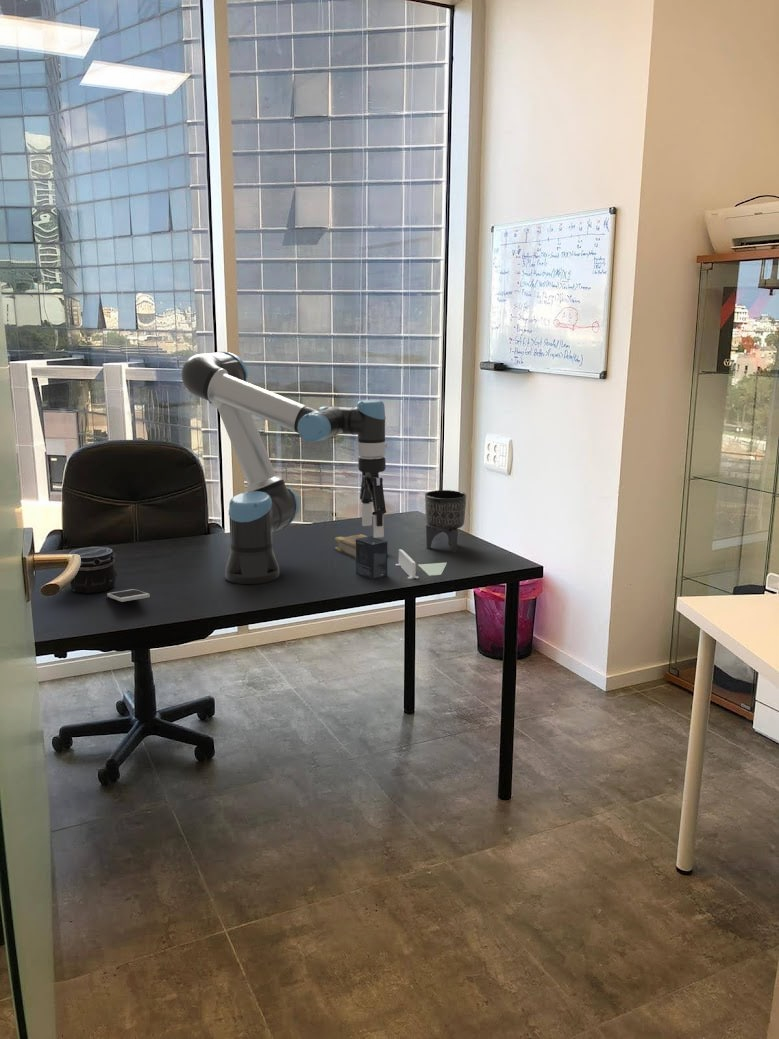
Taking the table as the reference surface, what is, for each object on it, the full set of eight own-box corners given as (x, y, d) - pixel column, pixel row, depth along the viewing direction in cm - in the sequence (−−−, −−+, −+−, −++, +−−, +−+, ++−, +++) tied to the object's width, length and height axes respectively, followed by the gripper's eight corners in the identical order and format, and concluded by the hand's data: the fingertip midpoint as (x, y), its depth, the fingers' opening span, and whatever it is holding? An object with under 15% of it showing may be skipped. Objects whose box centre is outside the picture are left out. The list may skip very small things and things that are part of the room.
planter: (425, 554, 267) (426, 498, 263) (422, 543, 279) (423, 490, 275) (467, 554, 267) (468, 498, 263) (462, 543, 280) (463, 490, 276)
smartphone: (121, 602, 214) (121, 598, 214) (106, 596, 227) (106, 593, 227) (150, 597, 217) (149, 593, 217) (134, 592, 231) (133, 588, 231)
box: (387, 576, 245) (388, 540, 243) (372, 580, 242) (372, 544, 239) (370, 570, 251) (370, 535, 249) (355, 573, 248) (355, 538, 245)
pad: (429, 576, 245) (429, 575, 245) (417, 565, 255) (417, 564, 255) (459, 574, 247) (459, 573, 247) (446, 563, 258) (446, 562, 258)
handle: (408, 580, 242) (408, 563, 241) (395, 565, 255) (395, 549, 254) (418, 579, 243) (419, 562, 242) (405, 565, 256) (405, 549, 255)
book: (334, 550, 272) (334, 535, 271) (363, 545, 278) (363, 530, 277) (359, 561, 260) (359, 546, 259) (389, 556, 266) (389, 540, 265)
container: (83, 578, 242) (80, 544, 239) (126, 581, 240) (123, 546, 237) (58, 592, 230) (55, 557, 227) (103, 595, 228) (101, 559, 225)
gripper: (397, 463, 227) (397, 541, 232) (374, 449, 251) (374, 520, 256) (369, 464, 225) (370, 543, 230) (348, 450, 249) (350, 521, 254)
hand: (372, 531), depth 243 cm, fingers open, 13 cm apart
